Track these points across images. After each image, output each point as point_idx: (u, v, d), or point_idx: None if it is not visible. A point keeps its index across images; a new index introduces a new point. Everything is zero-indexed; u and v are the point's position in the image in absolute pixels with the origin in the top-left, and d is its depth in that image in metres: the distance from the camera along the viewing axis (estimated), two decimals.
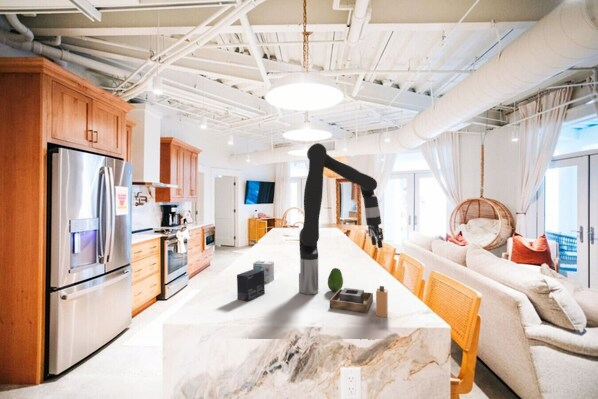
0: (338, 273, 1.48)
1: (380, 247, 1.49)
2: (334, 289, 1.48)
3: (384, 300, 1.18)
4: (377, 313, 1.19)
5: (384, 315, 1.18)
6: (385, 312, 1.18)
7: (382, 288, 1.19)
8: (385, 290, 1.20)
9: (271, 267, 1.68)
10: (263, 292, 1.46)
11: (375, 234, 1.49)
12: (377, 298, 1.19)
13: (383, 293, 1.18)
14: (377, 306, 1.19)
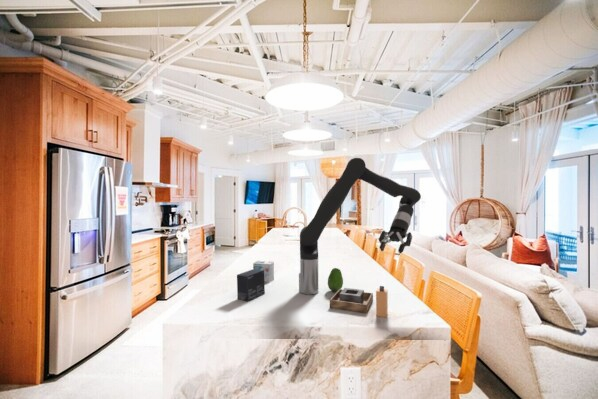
0: (338, 273, 1.48)
1: (400, 252, 1.27)
2: (334, 289, 1.48)
3: (384, 300, 1.18)
4: (377, 313, 1.19)
5: (384, 315, 1.18)
6: (385, 312, 1.18)
7: (382, 288, 1.19)
8: (385, 290, 1.20)
9: (271, 267, 1.68)
10: (263, 292, 1.46)
11: (401, 237, 1.31)
12: (377, 298, 1.19)
13: (383, 293, 1.18)
14: (377, 306, 1.19)
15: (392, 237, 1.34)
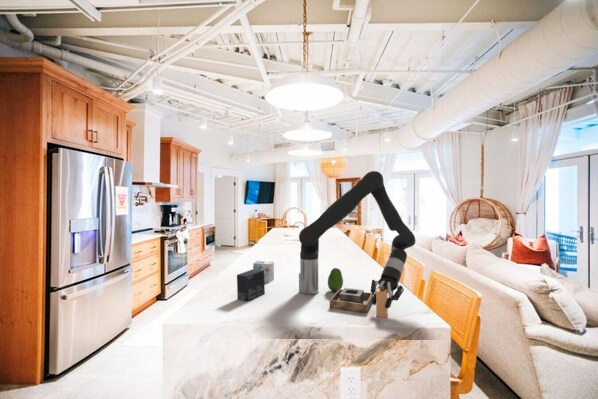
0: (338, 273, 1.48)
1: (387, 307, 1.17)
2: (334, 289, 1.48)
3: (384, 300, 1.18)
4: (377, 313, 1.19)
5: (384, 315, 1.18)
6: (385, 312, 1.18)
7: (382, 288, 1.19)
8: (385, 290, 1.20)
9: (271, 267, 1.68)
10: (263, 292, 1.46)
11: (391, 290, 1.20)
12: (377, 298, 1.19)
13: (383, 293, 1.18)
14: (377, 306, 1.19)
15: (384, 287, 1.22)
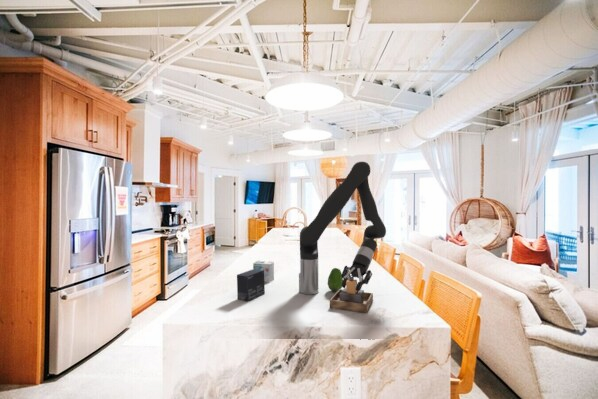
0: (338, 273, 1.48)
1: (357, 290, 1.28)
2: (334, 289, 1.48)
3: (353, 289, 1.30)
4: None
5: None
6: None
7: (351, 278, 1.31)
8: (354, 280, 1.32)
9: (271, 267, 1.68)
10: (263, 292, 1.46)
11: (361, 275, 1.31)
12: (347, 287, 1.31)
13: (352, 283, 1.30)
14: None
15: (354, 273, 1.34)
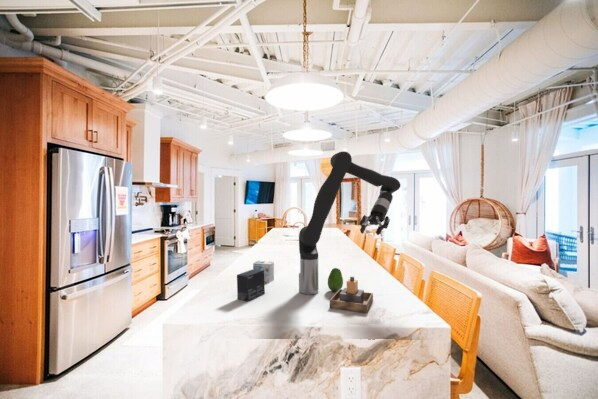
0: (338, 273, 1.48)
1: (378, 233, 1.39)
2: (334, 289, 1.48)
3: (353, 289, 1.30)
4: None
5: None
6: None
7: (352, 278, 1.31)
8: (355, 280, 1.32)
9: (271, 267, 1.68)
10: (263, 292, 1.46)
11: (379, 221, 1.43)
12: (347, 287, 1.31)
13: (352, 283, 1.30)
14: None
15: (371, 221, 1.46)
